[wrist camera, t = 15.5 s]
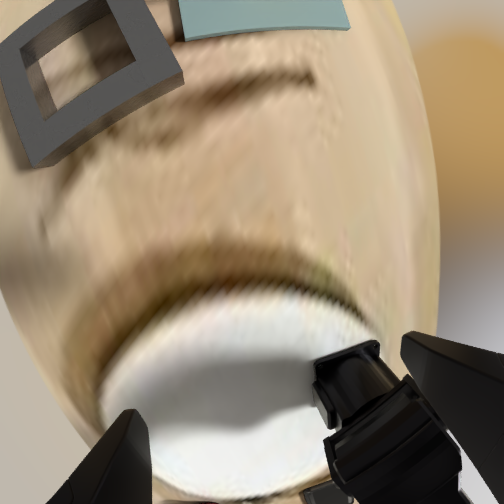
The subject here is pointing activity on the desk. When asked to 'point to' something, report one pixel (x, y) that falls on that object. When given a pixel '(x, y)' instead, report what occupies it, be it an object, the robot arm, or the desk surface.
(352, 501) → the phone
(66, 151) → the square-hole plate
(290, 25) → the rubber mat
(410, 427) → the robot arm
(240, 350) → the desk surface
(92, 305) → the desk surface
